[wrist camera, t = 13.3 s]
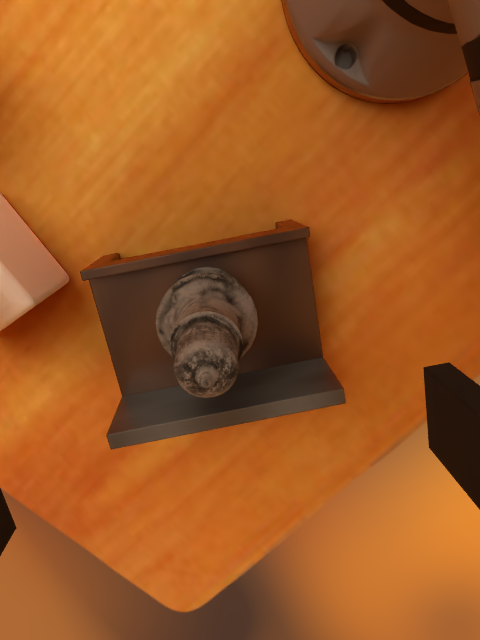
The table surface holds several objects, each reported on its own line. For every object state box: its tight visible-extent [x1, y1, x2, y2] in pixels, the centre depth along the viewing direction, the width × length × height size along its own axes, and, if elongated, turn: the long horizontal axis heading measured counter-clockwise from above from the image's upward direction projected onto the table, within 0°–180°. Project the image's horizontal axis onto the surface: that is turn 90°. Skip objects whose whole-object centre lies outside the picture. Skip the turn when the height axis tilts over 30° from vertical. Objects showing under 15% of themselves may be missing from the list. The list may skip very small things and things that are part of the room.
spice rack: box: [80, 220, 346, 449], centre depth 30 cm, size 14×10×10 cm
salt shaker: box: [156, 267, 258, 398], centre depth 24 cm, size 6×6×12 cm
